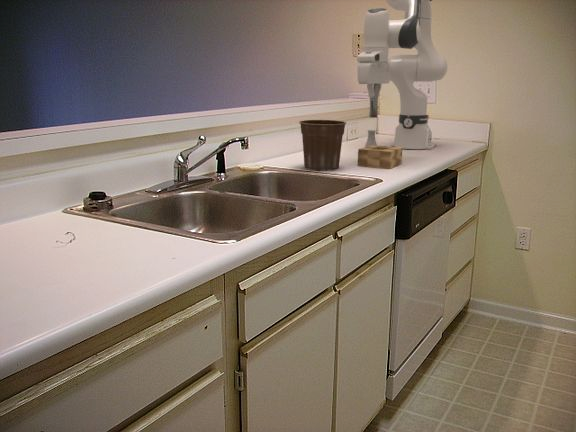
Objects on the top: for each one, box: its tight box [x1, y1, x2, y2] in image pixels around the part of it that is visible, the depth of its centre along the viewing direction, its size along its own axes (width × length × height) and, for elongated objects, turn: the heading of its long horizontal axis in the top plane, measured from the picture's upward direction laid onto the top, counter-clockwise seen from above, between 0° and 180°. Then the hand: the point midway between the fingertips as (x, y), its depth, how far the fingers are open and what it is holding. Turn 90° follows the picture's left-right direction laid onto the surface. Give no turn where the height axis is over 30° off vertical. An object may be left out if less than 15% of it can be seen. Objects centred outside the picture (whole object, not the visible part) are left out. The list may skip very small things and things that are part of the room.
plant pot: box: [298, 119, 347, 171], centre depth 198 cm, size 16×16×16 cm
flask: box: [364, 129, 378, 147], centre depth 226 cm, size 7×7×10 cm
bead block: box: [357, 145, 404, 170], centre depth 205 cm, size 12×12×6 cm
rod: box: [368, 84, 379, 119], centre depth 203 cm, size 3×3×14 cm
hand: (374, 97), depth 203 cm, fingers closed on rod, 3 cm apart
